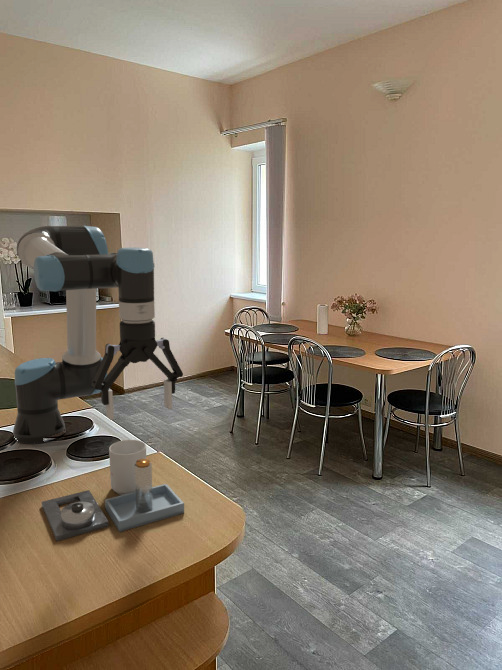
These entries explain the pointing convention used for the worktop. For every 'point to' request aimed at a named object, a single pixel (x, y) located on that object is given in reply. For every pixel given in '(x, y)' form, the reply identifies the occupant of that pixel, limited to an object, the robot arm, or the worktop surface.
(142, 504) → the pin
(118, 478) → the mug
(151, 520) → the tray
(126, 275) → the robot arm
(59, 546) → the worktop surface
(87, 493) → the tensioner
